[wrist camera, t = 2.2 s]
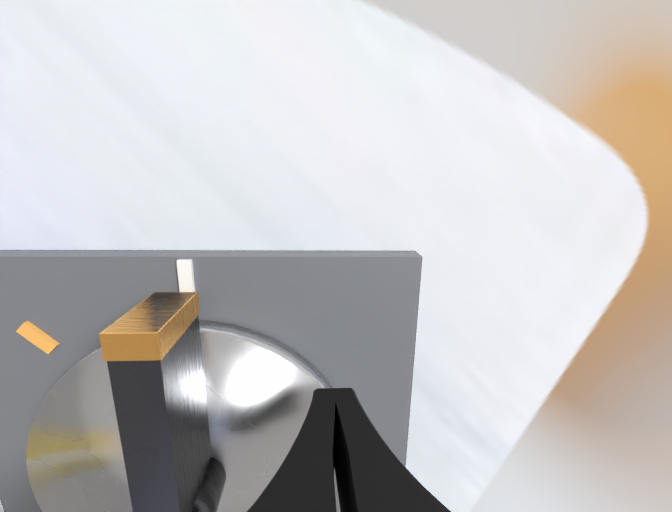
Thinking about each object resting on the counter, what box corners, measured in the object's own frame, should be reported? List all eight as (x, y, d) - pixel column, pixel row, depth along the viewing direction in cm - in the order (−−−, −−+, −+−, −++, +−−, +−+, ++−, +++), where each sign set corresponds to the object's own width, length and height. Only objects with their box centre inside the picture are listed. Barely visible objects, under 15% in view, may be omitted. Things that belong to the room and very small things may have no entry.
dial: (348, 559, 17) (358, 679, 13) (75, 572, 16) (-3, 703, 12) (357, 282, 13) (374, 330, 9) (6, 283, 12) (-139, 336, 8)
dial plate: (391, 569, 19) (396, 595, 17) (49, 586, 18) (30, 615, 16) (415, 250, 14) (424, 258, 13) (-43, 250, 13) (-78, 257, 12)
